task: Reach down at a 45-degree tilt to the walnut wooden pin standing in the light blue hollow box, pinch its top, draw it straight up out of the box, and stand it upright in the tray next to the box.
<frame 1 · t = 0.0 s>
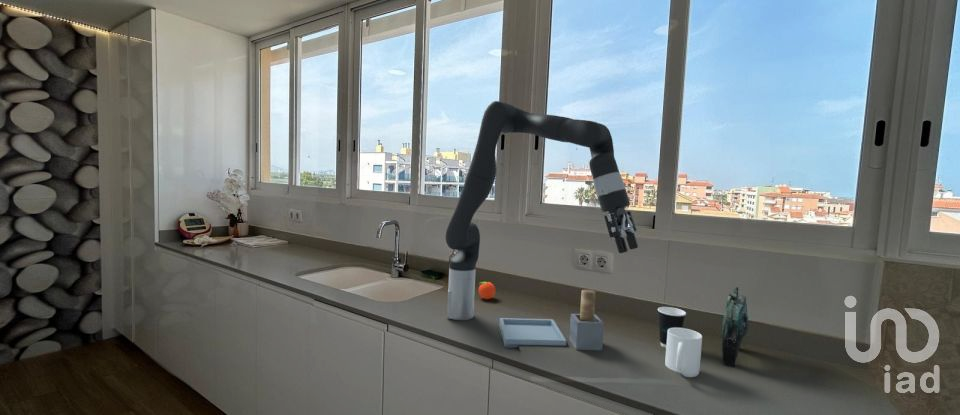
hand: (629, 250, 110), 31 cm above the worktop, tool tilted 20°, fingers open, 8 cm apart
clementine: (485, 299, 169), on the worktop
light blue hollow box: (585, 347, 124), on the worktop
mug: (680, 374, 110), on the worktop
tray: (530, 336, 131), on the worktop
pin: (585, 344, 124), point 1 cm above the worktop, touching light blue hollow box
dark green tall piece: (732, 356, 123), on the worktop
dixie cup: (669, 346, 128), on the worktop
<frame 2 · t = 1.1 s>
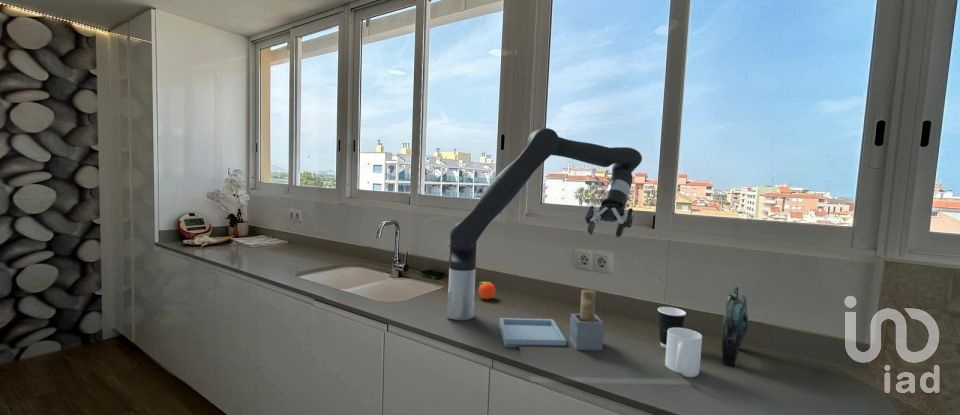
hand: (603, 234, 130), 33 cm above the worktop, tool tilted 45°, fingers open, 8 cm apart
nothing on the worktop moved.
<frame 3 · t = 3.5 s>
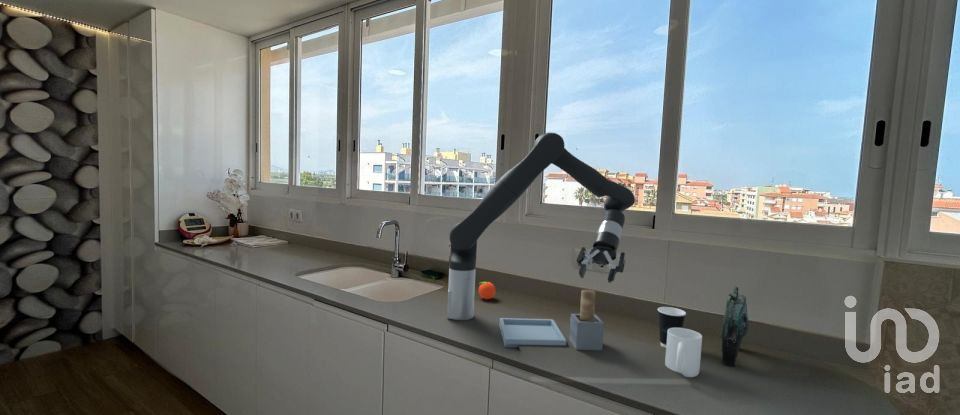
hand: (595, 278, 127), 20 cm above the worktop, tool tilted 45°, fingers open, 8 cm apart
nothing on the worktop moved.
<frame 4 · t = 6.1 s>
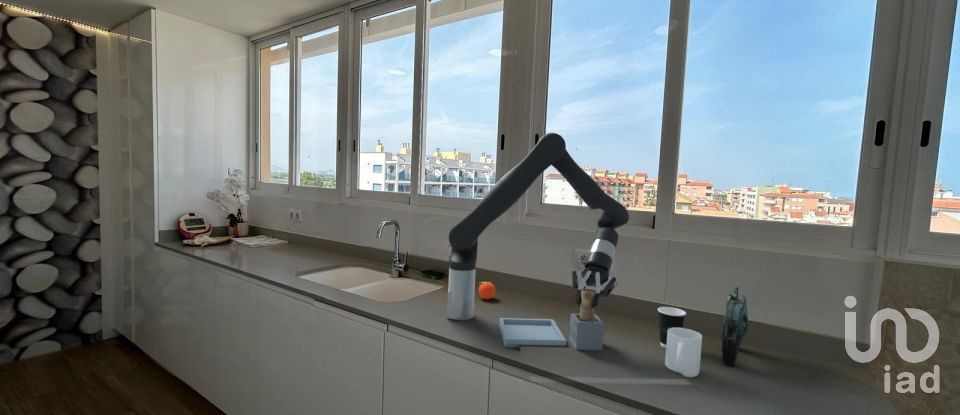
hand: (585, 304, 121), 14 cm above the worktop, tool tilted 45°, fingers closed on pin, 4 cm apart
pin: (585, 344, 124), point 1 cm above the worktop, touching light blue hollow box, gripper
everything else where it was.
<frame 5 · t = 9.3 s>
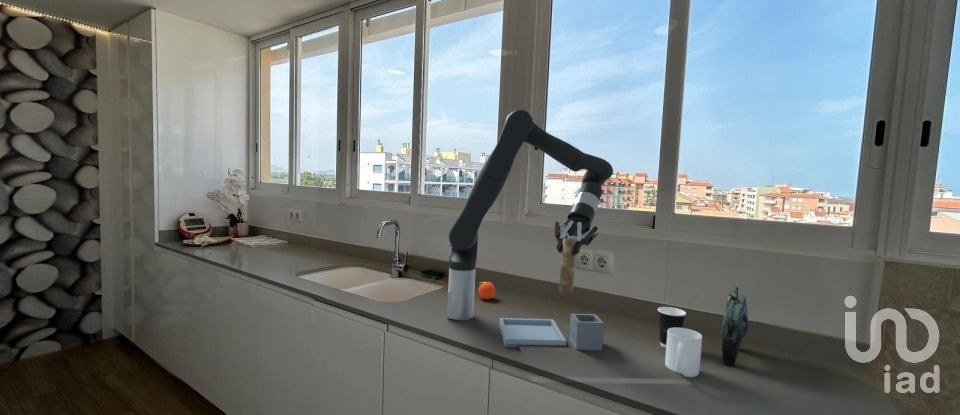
hand: (566, 252, 123), 28 cm above the worktop, tool tilted 45°, fingers closed on pin, 4 cm apart
pin: (565, 292, 125), point 16 cm above the worktop, touching gripper
everything else where it was.
when the fingers open (15 cm above the worktop, at t = 12.9 s): pin drops 2 cm, resting on tray.
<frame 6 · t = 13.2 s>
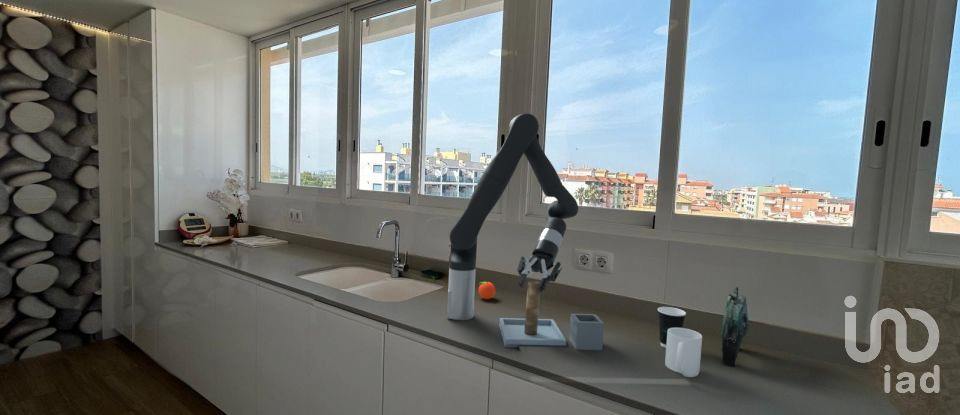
hand: (530, 288, 128), 16 cm above the worktop, tool tilted 45°, fingers open, 6 cm apart
pin: (530, 332, 131), point 1 cm above the worktop, touching tray
everything else where it was.
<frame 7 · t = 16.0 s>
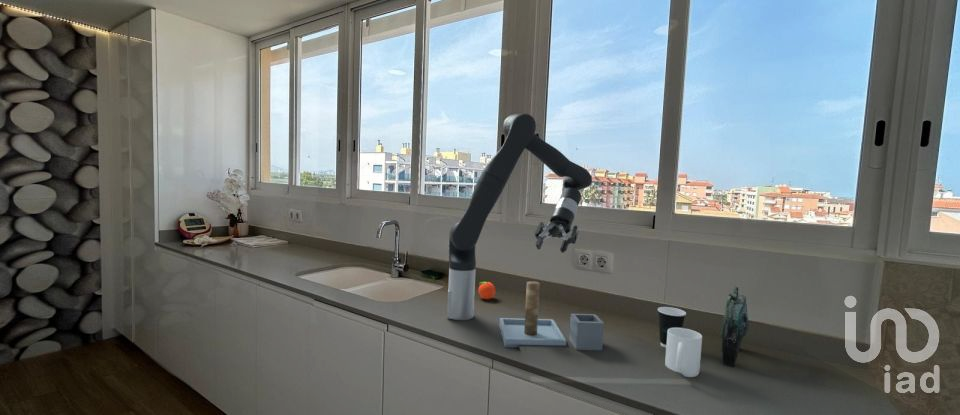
hand: (549, 249, 139), 26 cm above the worktop, tool tilted 45°, fingers open, 8 cm apart
nothing on the worktop moved.
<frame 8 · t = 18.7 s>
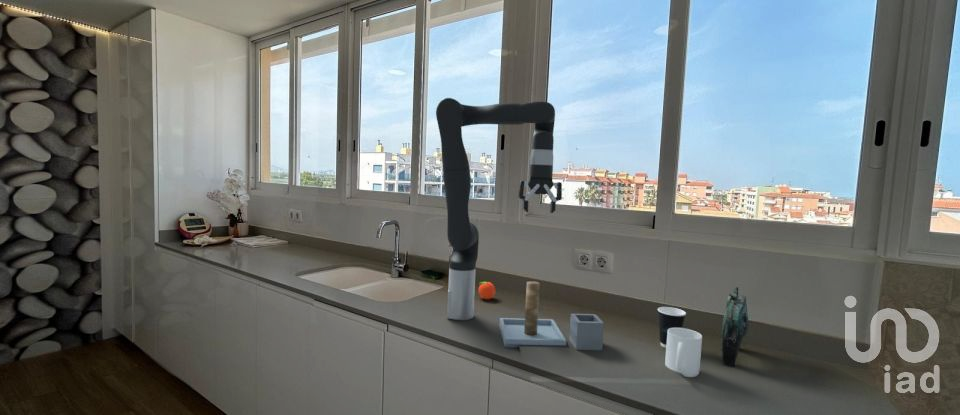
hand: (539, 212, 140), 38 cm above the worktop, tool pointing down, fingers open, 8 cm apart
nothing on the worktop moved.
at the end: pin inside the target area on the tray (0.1 cm from its centre), point 1.0 cm above the tray's base; pin tilted 0°; the gripper is holding nothing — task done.
